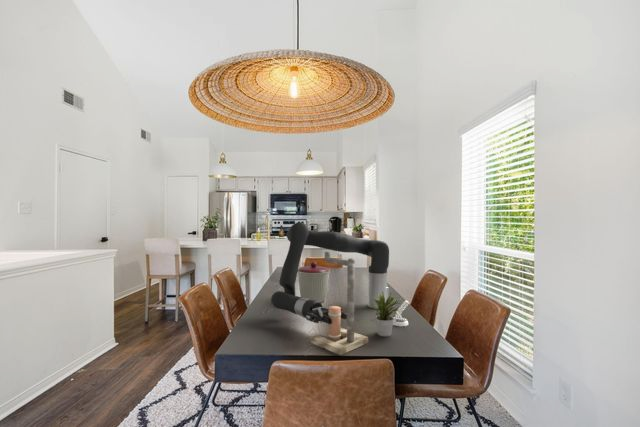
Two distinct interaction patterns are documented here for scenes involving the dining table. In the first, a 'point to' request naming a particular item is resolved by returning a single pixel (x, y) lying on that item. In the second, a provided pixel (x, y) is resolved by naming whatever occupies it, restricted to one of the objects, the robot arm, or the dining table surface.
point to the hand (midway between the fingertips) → (339, 318)
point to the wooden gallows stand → (350, 337)
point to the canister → (313, 282)
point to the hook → (399, 316)
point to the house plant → (384, 314)
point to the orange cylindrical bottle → (334, 323)
